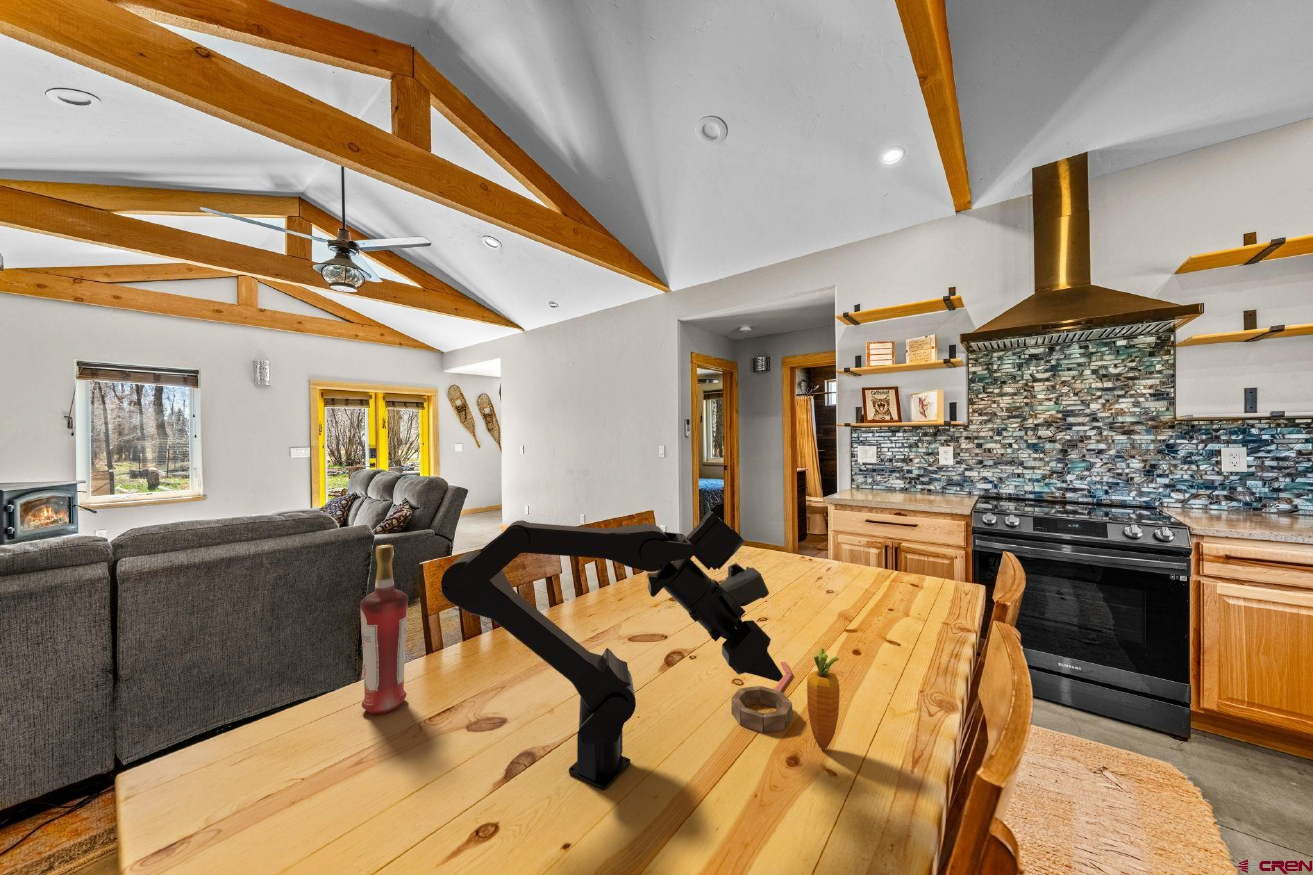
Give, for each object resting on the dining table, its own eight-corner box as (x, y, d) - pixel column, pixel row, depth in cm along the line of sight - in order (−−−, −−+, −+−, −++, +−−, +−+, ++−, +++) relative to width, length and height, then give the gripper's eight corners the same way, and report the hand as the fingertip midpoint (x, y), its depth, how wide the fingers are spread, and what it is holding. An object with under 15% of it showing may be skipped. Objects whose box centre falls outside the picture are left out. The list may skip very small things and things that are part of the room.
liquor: (356, 705, 86) (356, 545, 86) (402, 691, 91) (402, 540, 91) (364, 724, 80) (364, 553, 80) (412, 708, 85) (412, 547, 85)
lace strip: (772, 703, 87) (772, 701, 87) (754, 698, 88) (754, 695, 88) (798, 667, 100) (798, 664, 100) (781, 663, 102) (781, 660, 102)
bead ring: (780, 738, 77) (780, 722, 77) (724, 720, 81) (724, 705, 81) (796, 710, 85) (796, 695, 85) (745, 695, 89) (745, 681, 89)
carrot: (813, 735, 77) (813, 640, 77) (845, 748, 74) (845, 649, 74) (800, 751, 74) (800, 651, 74) (833, 765, 70) (833, 661, 70)
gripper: (755, 569, 63) (836, 650, 64) (718, 539, 81) (781, 602, 83) (695, 633, 62) (778, 714, 63) (671, 588, 80) (736, 651, 82)
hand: (768, 663), depth 73 cm, fingers open, 9 cm apart
